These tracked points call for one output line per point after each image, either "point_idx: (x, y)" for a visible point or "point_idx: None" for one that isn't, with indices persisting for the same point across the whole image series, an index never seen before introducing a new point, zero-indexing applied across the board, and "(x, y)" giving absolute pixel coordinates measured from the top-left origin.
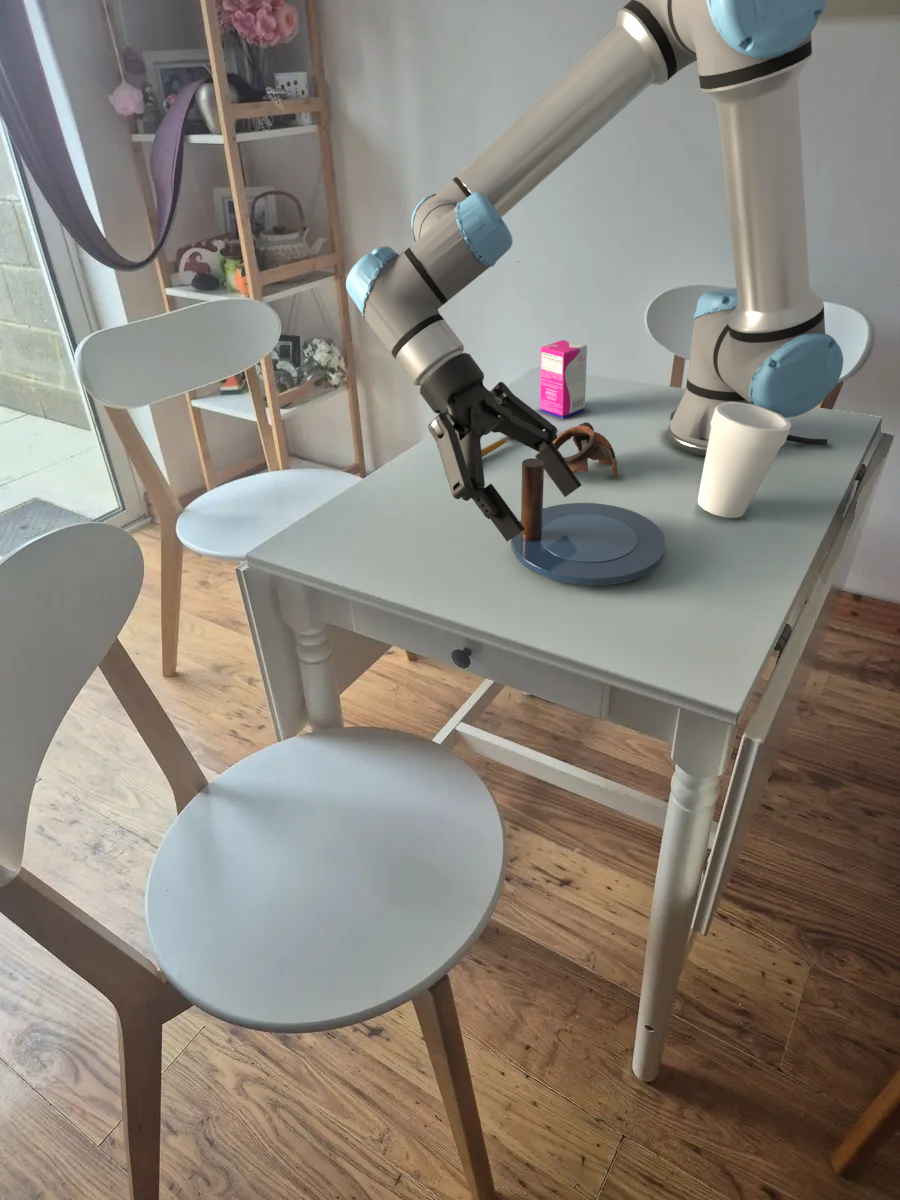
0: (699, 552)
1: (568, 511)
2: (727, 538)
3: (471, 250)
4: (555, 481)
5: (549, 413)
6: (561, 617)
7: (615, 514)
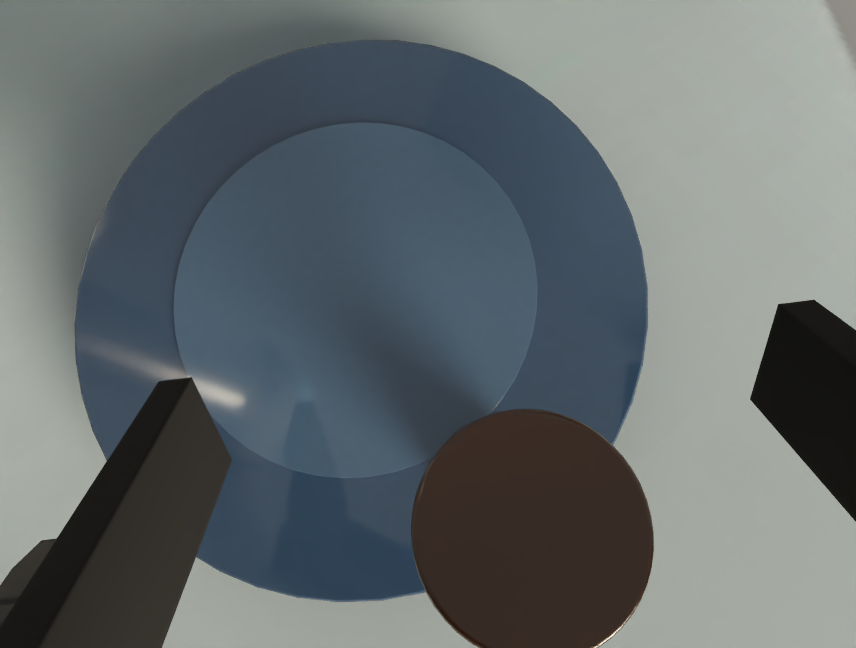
0: (160, 67)
1: None
2: (44, 52)
3: None
4: (195, 537)
5: None
6: (713, 151)
7: (137, 311)
